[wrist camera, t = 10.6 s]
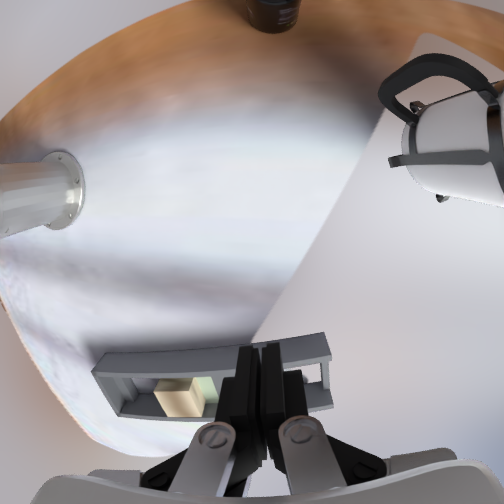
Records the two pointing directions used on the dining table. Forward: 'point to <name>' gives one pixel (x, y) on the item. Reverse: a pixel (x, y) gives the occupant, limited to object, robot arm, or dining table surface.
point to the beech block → (180, 397)
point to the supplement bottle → (273, 14)
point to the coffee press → (451, 131)
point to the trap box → (202, 375)
